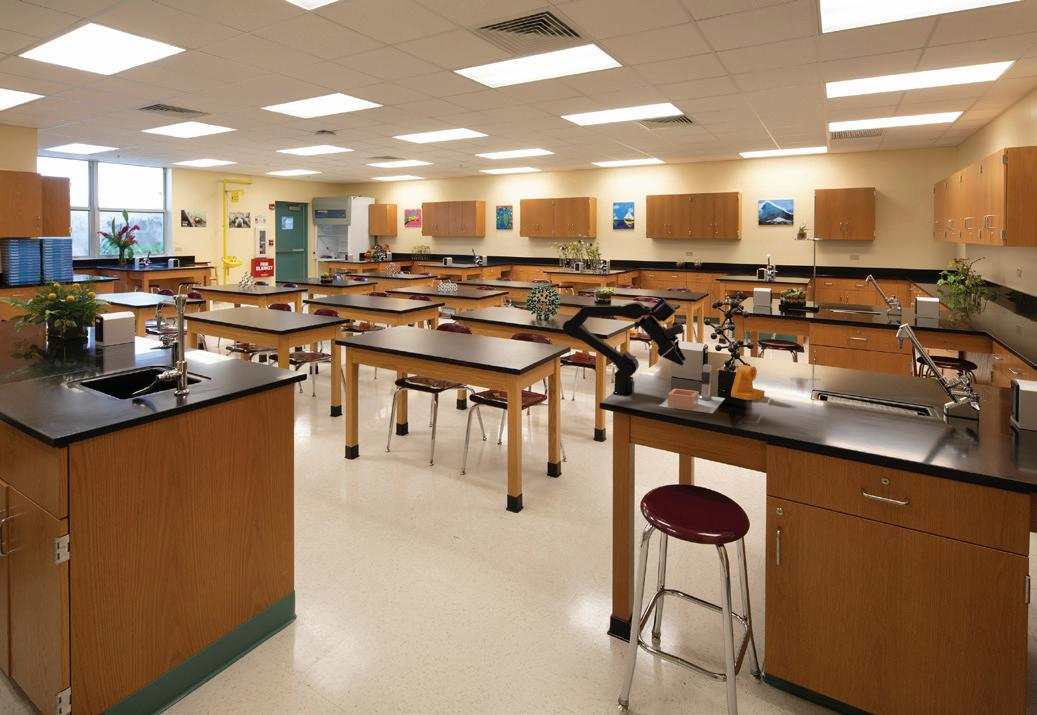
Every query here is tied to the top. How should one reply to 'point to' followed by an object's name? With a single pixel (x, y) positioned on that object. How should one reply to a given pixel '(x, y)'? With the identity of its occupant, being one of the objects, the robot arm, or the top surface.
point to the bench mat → (702, 405)
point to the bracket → (746, 384)
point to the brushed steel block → (706, 383)
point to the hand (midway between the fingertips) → (683, 362)
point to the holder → (683, 399)
